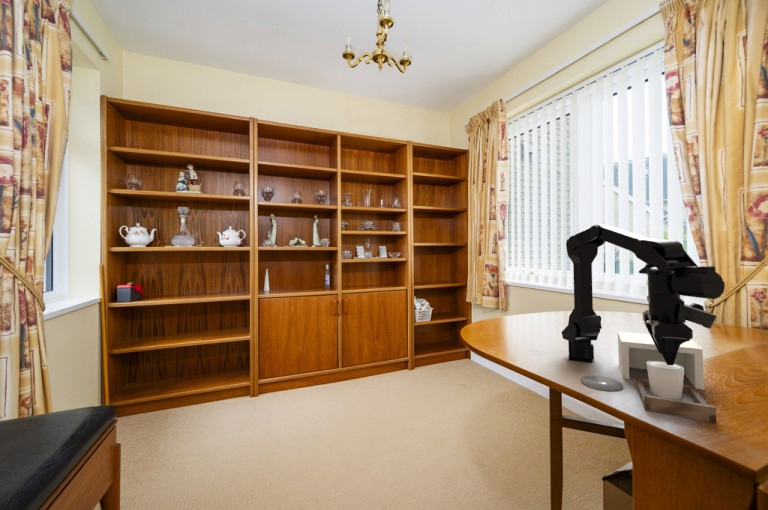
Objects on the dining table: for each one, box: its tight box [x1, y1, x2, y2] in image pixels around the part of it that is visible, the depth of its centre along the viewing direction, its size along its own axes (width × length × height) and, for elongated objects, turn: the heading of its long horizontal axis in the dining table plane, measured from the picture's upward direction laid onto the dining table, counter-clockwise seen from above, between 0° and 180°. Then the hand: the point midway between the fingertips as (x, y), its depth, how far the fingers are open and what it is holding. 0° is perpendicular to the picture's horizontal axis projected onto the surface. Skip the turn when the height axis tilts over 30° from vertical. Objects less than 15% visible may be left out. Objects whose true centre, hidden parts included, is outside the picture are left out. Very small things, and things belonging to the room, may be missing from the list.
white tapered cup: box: [646, 361, 685, 400], centre depth 76 cm, size 7×7×7 cm
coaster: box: [580, 374, 624, 392], centre depth 83 cm, size 9×9×1 cm
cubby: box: [617, 331, 705, 391], centre depth 87 cm, size 16×12×10 cm
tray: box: [635, 377, 717, 424], centre depth 73 cm, size 11×16×3 cm
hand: (665, 358), depth 76 cm, fingers open, 9 cm apart
